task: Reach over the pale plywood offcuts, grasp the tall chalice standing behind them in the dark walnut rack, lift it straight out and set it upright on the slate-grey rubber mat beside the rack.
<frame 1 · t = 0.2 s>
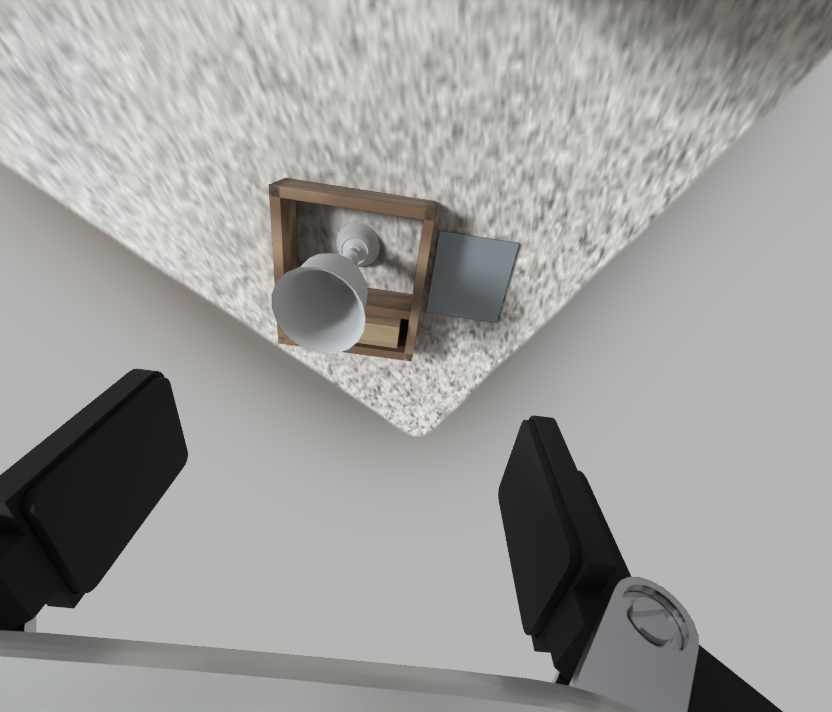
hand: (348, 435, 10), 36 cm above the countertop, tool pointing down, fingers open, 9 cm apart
rack: (356, 268, 45), on the countertop
mat: (469, 278, 45), on the countertop
offcut stack: (354, 309, 48), resting in rack
chalice: (358, 244, 44), resting in rack
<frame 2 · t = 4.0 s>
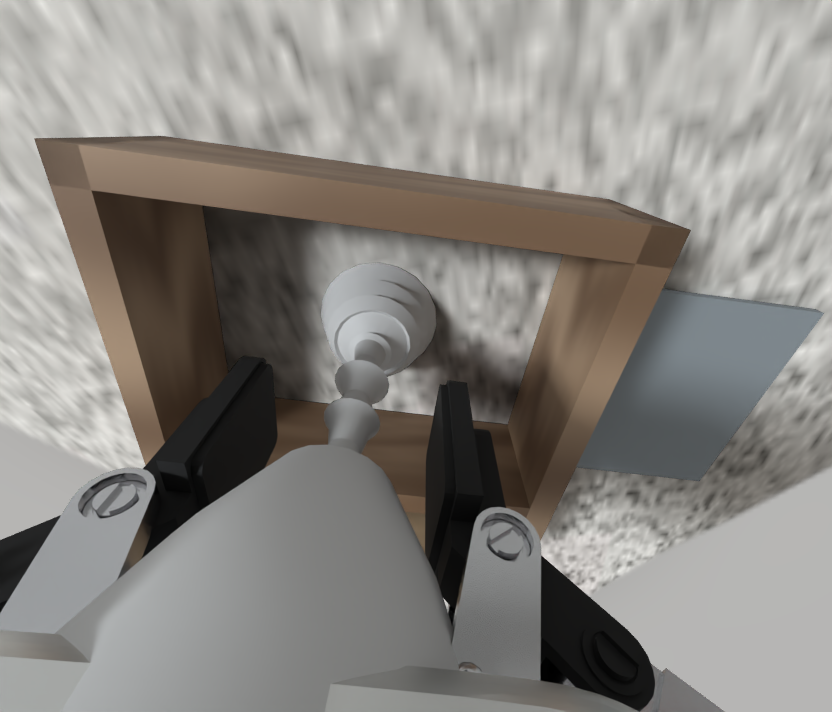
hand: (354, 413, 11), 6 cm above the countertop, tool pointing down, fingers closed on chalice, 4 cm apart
rack: (374, 372, 18), on the countertop
mat: (656, 392, 18), on the countertop
offcut stack: (368, 453, 21), resting in rack
chalice: (379, 317, 17), resting in rack, touching gripper
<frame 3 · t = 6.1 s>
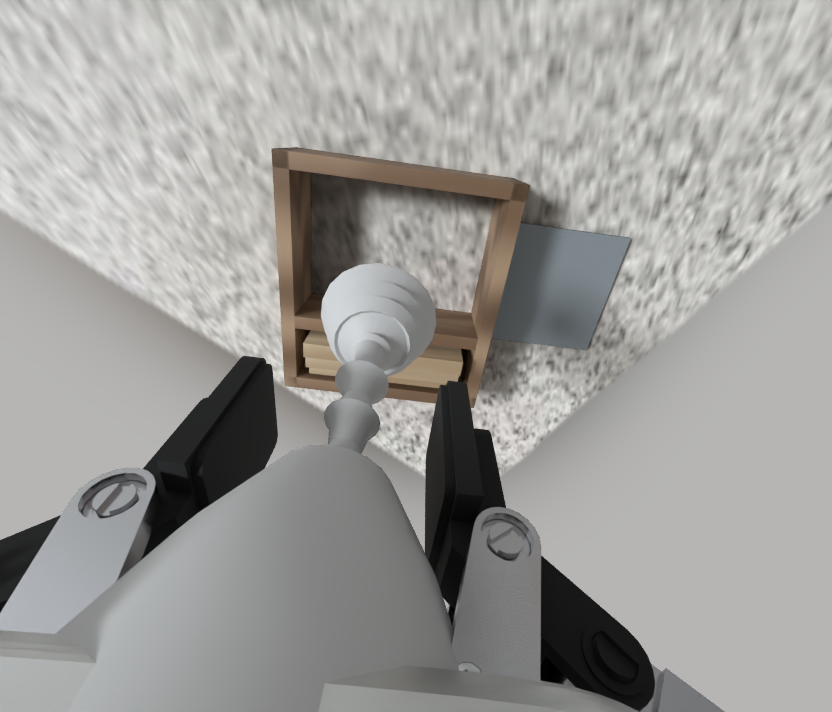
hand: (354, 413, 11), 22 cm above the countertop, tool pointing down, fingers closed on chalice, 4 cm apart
rack: (394, 278, 32), on the countertop
mat: (553, 290, 32), on the countertop
offcut stack: (389, 335, 35), resting in rack
chalice: (379, 318, 17), point 16 cm above the countertop, touching gripper
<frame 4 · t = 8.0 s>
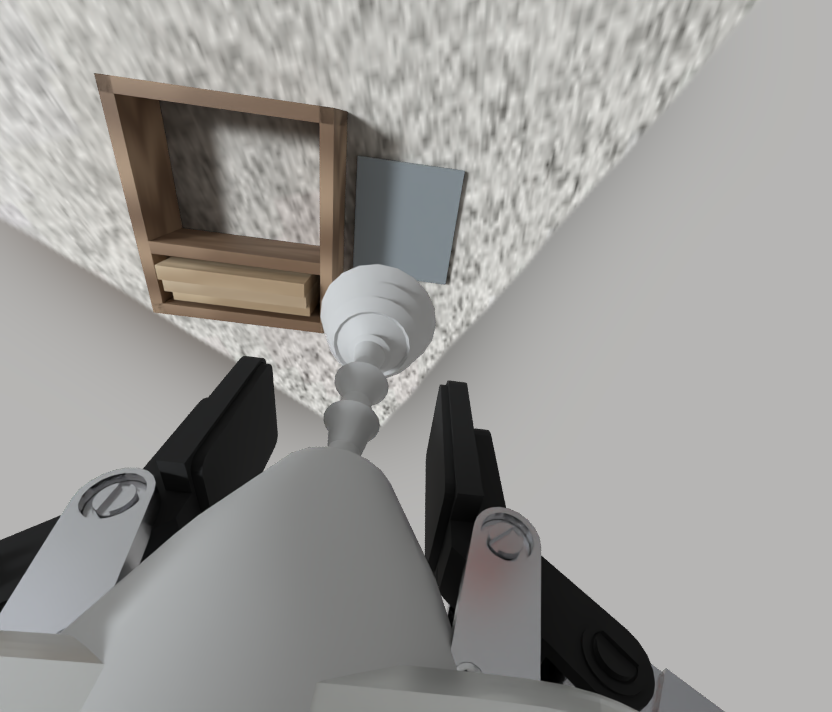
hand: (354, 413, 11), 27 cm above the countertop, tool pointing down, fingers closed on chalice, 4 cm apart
rack: (256, 212, 34), on the countertop
mat: (405, 224, 34), on the countertop
offcut stack: (262, 270, 37), resting in rack
chalice: (378, 319, 17), point 20 cm above the countertop, touching gripper
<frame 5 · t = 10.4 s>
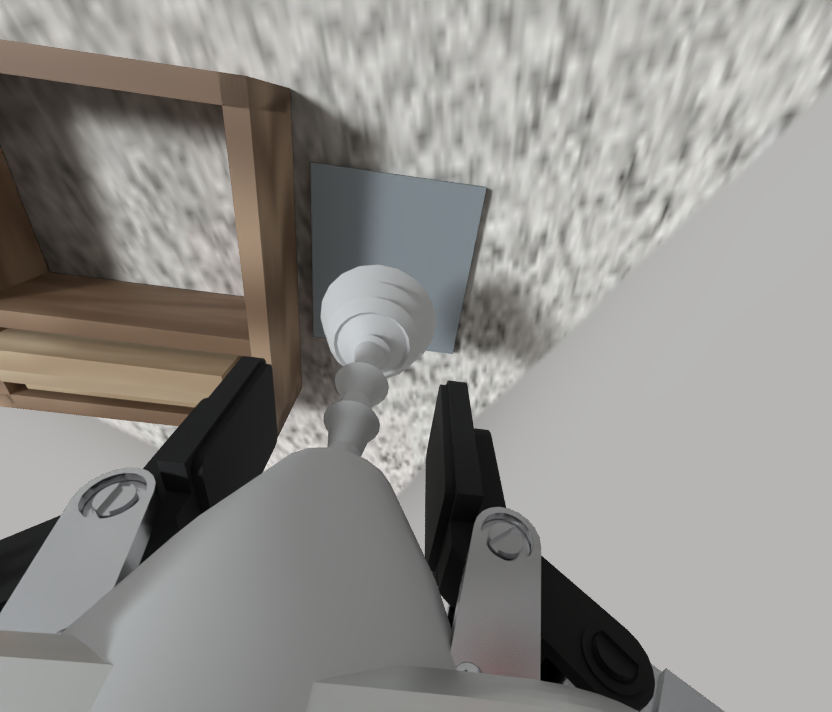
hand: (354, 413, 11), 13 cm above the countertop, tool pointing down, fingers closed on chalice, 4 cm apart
rack: (158, 250, 22), on the countertop
mat: (391, 268, 22), on the countertop
offcut stack: (179, 332, 25), resting in rack
chalice: (378, 319, 17), point 6 cm above the countertop, touching gripper
when the fingers open (8 cm above the countertop, at t = 12.4 s): chalice moves 1 cm, resting on mat.
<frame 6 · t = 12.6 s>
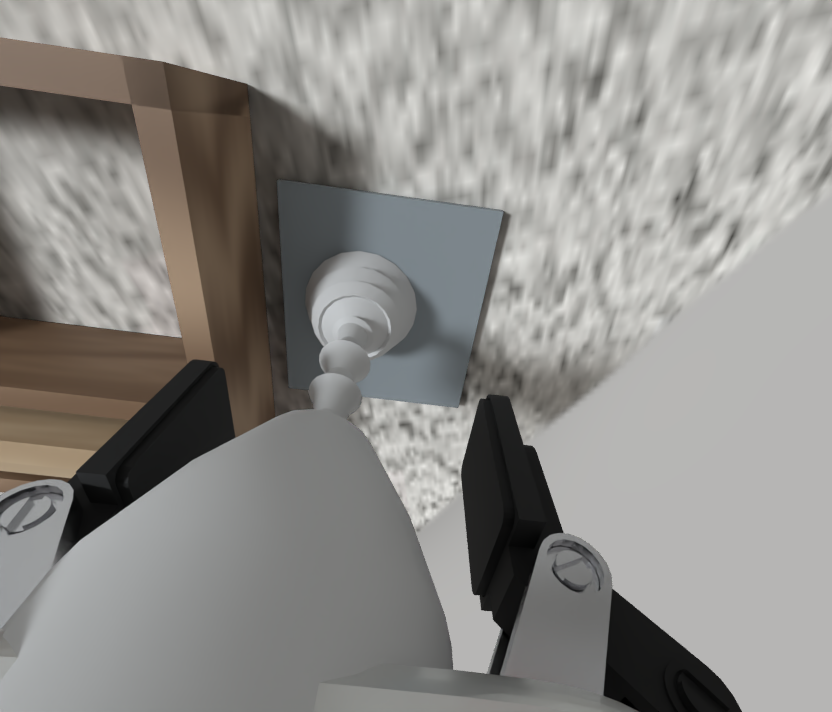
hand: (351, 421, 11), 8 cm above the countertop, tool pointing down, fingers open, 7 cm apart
rack: (93, 286, 18), on the countertop
mat: (382, 308, 18), on the countertop
offcut stack: (127, 380, 21), resting in rack
chalice: (361, 304, 17), resting on mat
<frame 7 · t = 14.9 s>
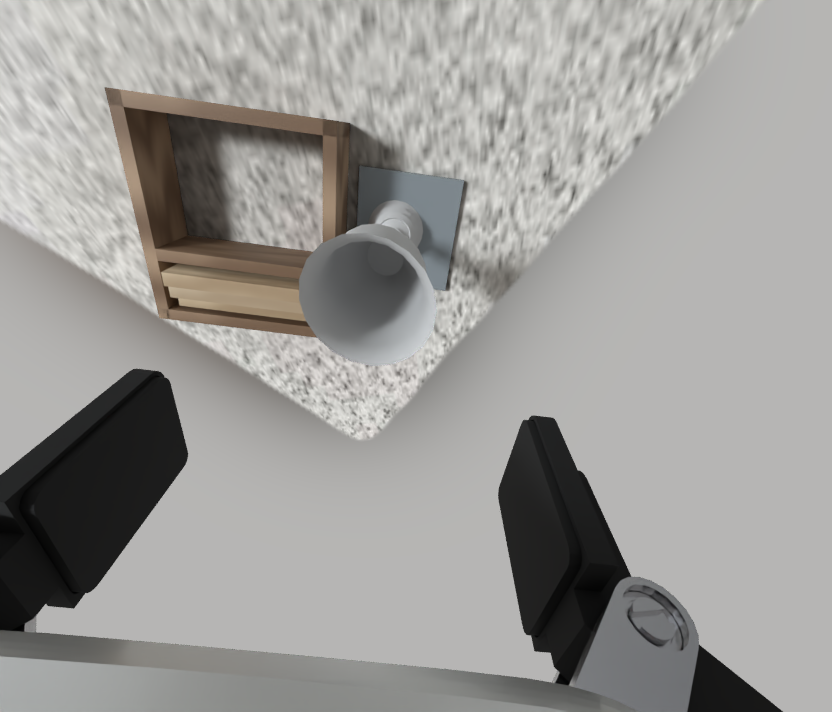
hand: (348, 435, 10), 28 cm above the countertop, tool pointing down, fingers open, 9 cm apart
rack: (260, 220, 35), on the countertop
mat: (405, 232, 35), on the countertop
offcut stack: (265, 277, 38), resting in rack
chalice: (395, 229, 35), resting on mat
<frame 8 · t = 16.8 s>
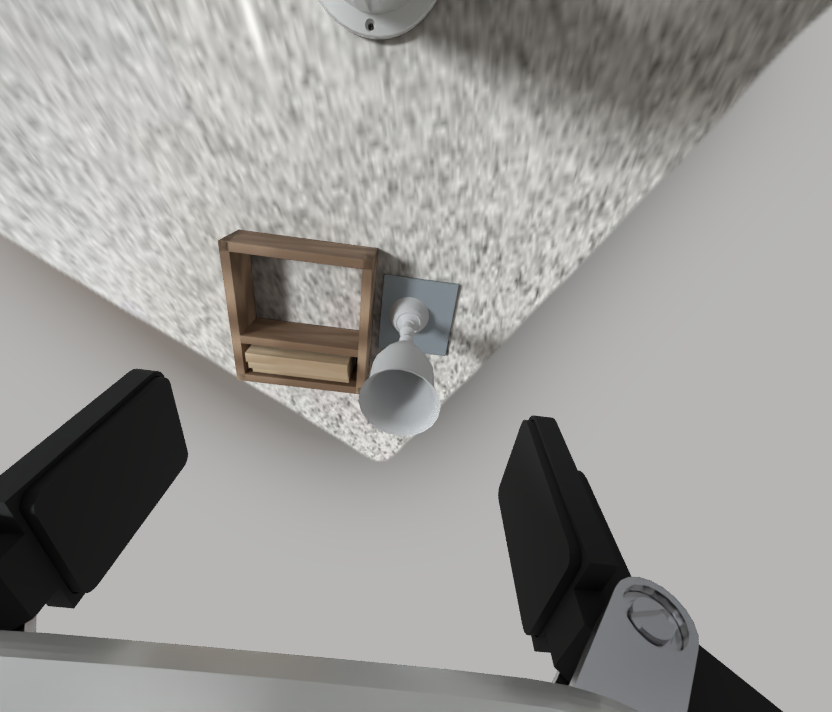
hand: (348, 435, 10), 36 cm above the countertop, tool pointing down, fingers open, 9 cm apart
rack: (310, 308, 48), on the countertop
mat: (416, 316, 48), on the countertop
offcut stack: (311, 345, 51), resting in rack
chalice: (409, 315, 48), resting on mat
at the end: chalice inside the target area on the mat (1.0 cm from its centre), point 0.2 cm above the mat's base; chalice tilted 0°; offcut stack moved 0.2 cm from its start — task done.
